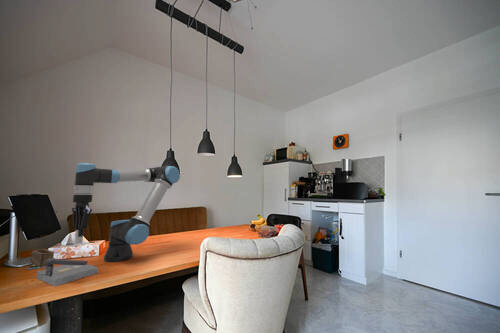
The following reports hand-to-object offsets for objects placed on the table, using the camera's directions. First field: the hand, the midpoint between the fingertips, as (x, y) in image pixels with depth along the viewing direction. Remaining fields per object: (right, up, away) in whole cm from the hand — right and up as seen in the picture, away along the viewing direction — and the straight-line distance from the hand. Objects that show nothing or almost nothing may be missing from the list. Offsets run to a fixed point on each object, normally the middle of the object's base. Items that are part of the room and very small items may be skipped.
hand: (78, 243), depth 104 cm
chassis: (-5, -16, 0) cm, 17 cm away
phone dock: (-32, -17, +14) cm, 39 cm away
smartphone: (-32, -18, +14) cm, 39 cm away
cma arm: (-1, -8, -6) cm, 10 cm away
